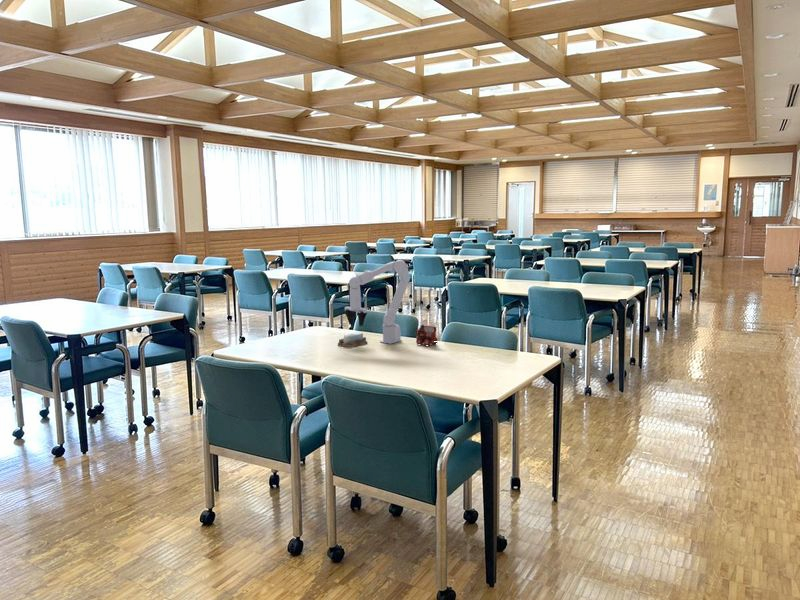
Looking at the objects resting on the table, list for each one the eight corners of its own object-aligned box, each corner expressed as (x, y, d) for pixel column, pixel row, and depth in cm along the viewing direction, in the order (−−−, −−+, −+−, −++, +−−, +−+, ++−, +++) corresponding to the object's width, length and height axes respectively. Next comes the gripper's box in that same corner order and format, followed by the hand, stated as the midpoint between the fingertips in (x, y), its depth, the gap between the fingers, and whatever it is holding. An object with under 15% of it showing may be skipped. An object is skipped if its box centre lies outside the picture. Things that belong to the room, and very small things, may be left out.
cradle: (353, 341, 317) (353, 335, 317) (367, 343, 311) (367, 337, 311) (337, 345, 308) (337, 339, 308) (351, 347, 302) (351, 341, 301)
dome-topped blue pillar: (357, 339, 315) (357, 332, 315) (363, 340, 313) (362, 333, 312) (341, 343, 306) (341, 336, 305) (347, 344, 304) (346, 337, 303)
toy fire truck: (421, 342, 313) (421, 322, 311) (440, 345, 305) (440, 325, 303) (413, 344, 308) (412, 324, 306) (431, 347, 299) (431, 327, 298)
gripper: (340, 299, 313) (341, 324, 315) (360, 301, 304) (360, 327, 306) (349, 297, 318) (350, 322, 320) (369, 300, 309) (370, 325, 311)
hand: (356, 324), depth 313 cm, fingers open, 7 cm apart
